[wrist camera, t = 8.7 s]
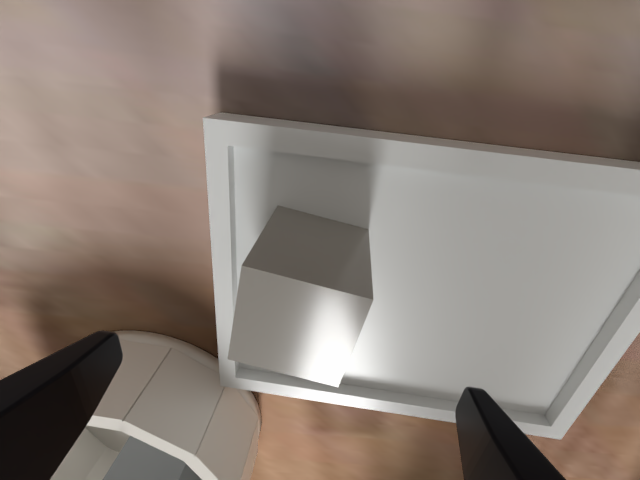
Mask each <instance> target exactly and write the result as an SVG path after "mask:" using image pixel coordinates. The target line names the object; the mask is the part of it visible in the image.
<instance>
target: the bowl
mask: <svg viewBox="0 0 640 480" xmlns="http://www.w3.org/2000/svg"><path fill="white" fill-rule="evenodd" d="M113 332H115V333H117V335H118V336H119V340H120V344H121V348H122V352H123V359H122V363H121V365H120V367H119V369H118V370H117V372H116V374H115V376H114V378H113V379H112V381H111V383H110V385H109V387H108V389H107V390H106V392H105V394H104V396H103V398H102V399H101V401H100V403H99V405H98V407H97V409H96V410H95V412H94V414H93V416H92V417H91V419H90V421H89V422H88V424H87V425H86V427H85V428H84V430H83V432H82V433H81V434H80V436H79V437H78V439H77V440H76V442H75V443H74V445H73V446H72V448H71V449H70V451H69V452H68V454H67V455H66V457H65V458H64V460H63V461H62V463H61V464H60V466H59V467H58V469H57V470H56V472H55V473H54V474H53V476H52V477H51V479H50V480H103V478H104V477H105V475H106V473H107V472H108V470H109V469H110V467H111V465H112V464H113V462H114V461H115V459H116V457H117V456H118V454H119V453H120V451H121V449H122V448H123V446H124V445H125V443H126V441H127V440H128V438H129V437H130V436H132V437H134V438H137V439H139V440H141V441H143V442H145V443H147V444H149V445H151V446H153V447H155V448H157V449H159V450H162V451H164V452H166V453H168V454H170V455H172V456H174V457H176V458H178V459H180V460H182V461H184V462H185V463H186V464H187V465H188V466H189V467H190V468H191V469H192V470H193V471H194V472H195V473H196V474H197V475H198V476H199V477H200V478H201V479H202V480H250V479H251V475H252V472H253V468H254V464H255V460H256V456H257V453H258V438H259V434H260V431H261V423H262V422H261V413H260V409H259V406H258V403H257V401H256V399H255V397H254V395H253V393H252V392H251V391H249V390H243V389H237V388H230V387H224V386H220V374H219V359H217V358H216V357H214V356H213V355H211V354H209V353H208V352H206V351H204V350H202V349H200V348H198V347H196V346H194V345H192V344H189V343H187V342H184V341H182V340H179V339H176V338H173V337H169V336H166V335H162V334H157V333H152V332H145V331H135V330H121V331H113Z"/></svg>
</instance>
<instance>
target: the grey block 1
mask: <svg viewBox="0 0 640 480" xmlns="http://www.w3.org/2000/svg"><path fill="white" fill-rule="evenodd" d="M103 480H202V479H201V478H200V477H199V476H198V475H197V474H196V473H195V472H194V471H193V470H192V469H191V468H190V467H189V466H188V465H187V464H186V463H185V462H184V461H182V460H180V459H178V458H176V457H174V456H172V455H170V454H168V453H166V452H164V451H162V450H159V449H157V448H155V447H153V446H151V445H149V444H147V443H145V442H143V441H141V440H139V439H137V438H134V437H132V436H130V437H129V438H128V440H127V441H126V443H125V445H124V446H123V448H122V449H121V451H120V453H119V454H118V456H117V457H116V459H115V461H114V462H113V464H112V465H111V467H110V469H109V470H108V472H107V473H106V475H105V477H104V478H103Z"/></svg>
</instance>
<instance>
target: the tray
mask: <svg viewBox="0 0 640 480" xmlns="http://www.w3.org/2000/svg"><path fill="white" fill-rule="evenodd" d="M203 127H204V142H205V158H206V173H207V189H208V204H209V220H210V235H211V251H212V266H213V282H214V297H215V313H216V328H217V344H218V359H219V374H220V386H224V387H230V388H237V389H243V390H249V391H256V392H262V393H268V394H275V395H281V396H287V397H294V398H300V399H306V400H313V401H319V402H326V403H332V404H338V405H345V406H351V407H357V408H364V409H370V410H376V411H383V412H389V413H395V414H402V415H408V416H414V417H421V418H427V419H433V420H440V421H446V422H453V423H456V418H455V410H456V406H457V404H458V402H459V399H460V397H461V395H462V393H463V390H464V389H465V388H466V387H475V388H481V389H483V390H485V391H486V392H487V393H488V394H489V395H490V396H491V397H492V398H493V400H494V401H495V402H496V403H497V404H498V405H499V406H500V407H501V408H502V410H503V411H504V412H505V413H506V414H507V415H508V416H509V417H510V418H511V420H512V421H513V422H514V423H515V424H516V425H517V426H518V427H519V428H520V429H521V431H522V432H523V433H524V434H529V435H535V436H541V437H548V438H554V439H560V440H561V439H562V437H563V436H564V435H565V433H566V432H567V431H568V429H569V428H570V426H571V425H572V424H573V422H574V421H575V420H576V418H577V417H578V416H579V414H580V413H581V411H582V410H583V409H584V407H585V406H586V405H587V403H588V402H589V400H590V399H591V398H592V396H593V395H594V394H595V392H596V391H597V390H598V388H599V387H600V385H601V384H602V383H603V381H604V380H605V379H606V377H607V376H608V375H609V373H610V372H611V370H612V369H613V368H614V366H615V365H616V364H617V362H618V361H619V359H620V358H621V357H622V355H623V354H624V353H625V351H626V350H627V349H628V347H629V346H630V344H631V343H632V342H633V340H634V339H635V338H636V336H637V335H638V333H639V332H640V162H636V161H627V160H619V159H610V158H602V157H594V156H585V155H577V154H568V153H560V152H551V151H543V150H534V149H526V148H518V147H509V146H501V145H492V144H484V143H475V142H467V141H459V140H450V139H442V138H433V137H425V136H416V135H408V134H399V133H391V132H383V131H374V130H366V129H357V128H349V127H340V126H332V125H323V124H315V123H307V122H298V121H290V120H281V119H273V118H264V117H256V116H248V115H239V114H231V113H222V112H220V113H217V114H214V115H210V116H207V117H204V118H203ZM278 205H279V206H283V207H286V208H290V209H294V210H298V211H302V212H305V213H309V214H313V215H317V216H320V217H324V218H328V219H332V220H336V221H339V222H343V223H347V224H351V225H354V226H358V227H362V228H366V229H369V242H370V256H371V271H372V285H373V302H372V305H371V307H370V310H369V312H368V315H367V317H366V320H365V322H364V325H363V327H362V330H361V332H360V335H359V337H358V340H357V342H356V344H355V347H354V349H353V352H352V354H351V357H350V359H349V362H348V364H347V367H346V369H345V372H344V374H343V377H342V379H341V382H340V384H339V387H335V386H331V385H327V384H323V383H319V382H315V381H311V380H307V379H303V378H299V377H295V376H291V375H287V374H284V373H280V372H276V371H272V370H268V369H264V368H260V367H256V366H252V365H248V364H244V363H240V362H236V361H233V360H229V359H228V352H229V346H230V339H231V332H232V326H233V319H234V312H235V306H236V299H237V292H238V286H239V279H240V272H241V266H242V264H243V262H244V261H245V259H246V257H247V256H248V254H249V252H250V251H251V249H252V247H253V246H254V244H255V242H256V241H257V239H258V237H259V236H260V234H261V232H262V231H263V229H264V227H265V226H266V224H267V222H268V221H269V219H270V217H271V216H272V214H273V212H274V211H275V209H276V207H277V206H278Z"/></svg>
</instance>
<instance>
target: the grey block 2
mask: <svg viewBox="0 0 640 480" xmlns="http://www.w3.org/2000/svg"><path fill="white" fill-rule="evenodd" d="M372 302H373V285H372V271H371V256H370V242H369V229H366V228H362V227H358V226H354V225H351V224H347V223H343V222H339V221H336V220H332V219H328V218H324V217H320V216H317V215H313V214H309V213H305V212H302V211H298V210H294V209H290V208H286V207H283V206H279V205H278V206H277V207H276V209H275V211H274V212H273V214H272V216H271V217H270V219H269V221H268V222H267V224H266V226H265V227H264V229H263V231H262V232H261V234H260V236H259V237H258V239H257V241H256V242H255V244H254V246H253V247H252V249H251V251H250V252H249V254H248V256H247V257H246V259H245V261H244V262H243V264H242V266H241V272H240V279H239V286H238V292H237V299H236V306H235V312H234V319H233V326H232V332H231V339H230V346H229V352H228V359H229V360H233V361H236V362H240V363H244V364H248V365H252V366H256V367H260V368H264V369H268V370H272V371H276V372H280V373H284V374H287V375H291V376H295V377H299V378H303V379H307V380H311V381H315V382H319V383H323V384H327V385H331V386H335V387H339V384H340V382H341V379H342V377H343V374H344V372H345V369H346V367H347V364H348V362H349V359H350V357H351V354H352V352H353V349H354V347H355V344H356V342H357V340H358V337H359V335H360V332H361V330H362V327H363V325H364V322H365V320H366V317H367V315H368V312H369V310H370V307H371V305H372Z"/></svg>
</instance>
